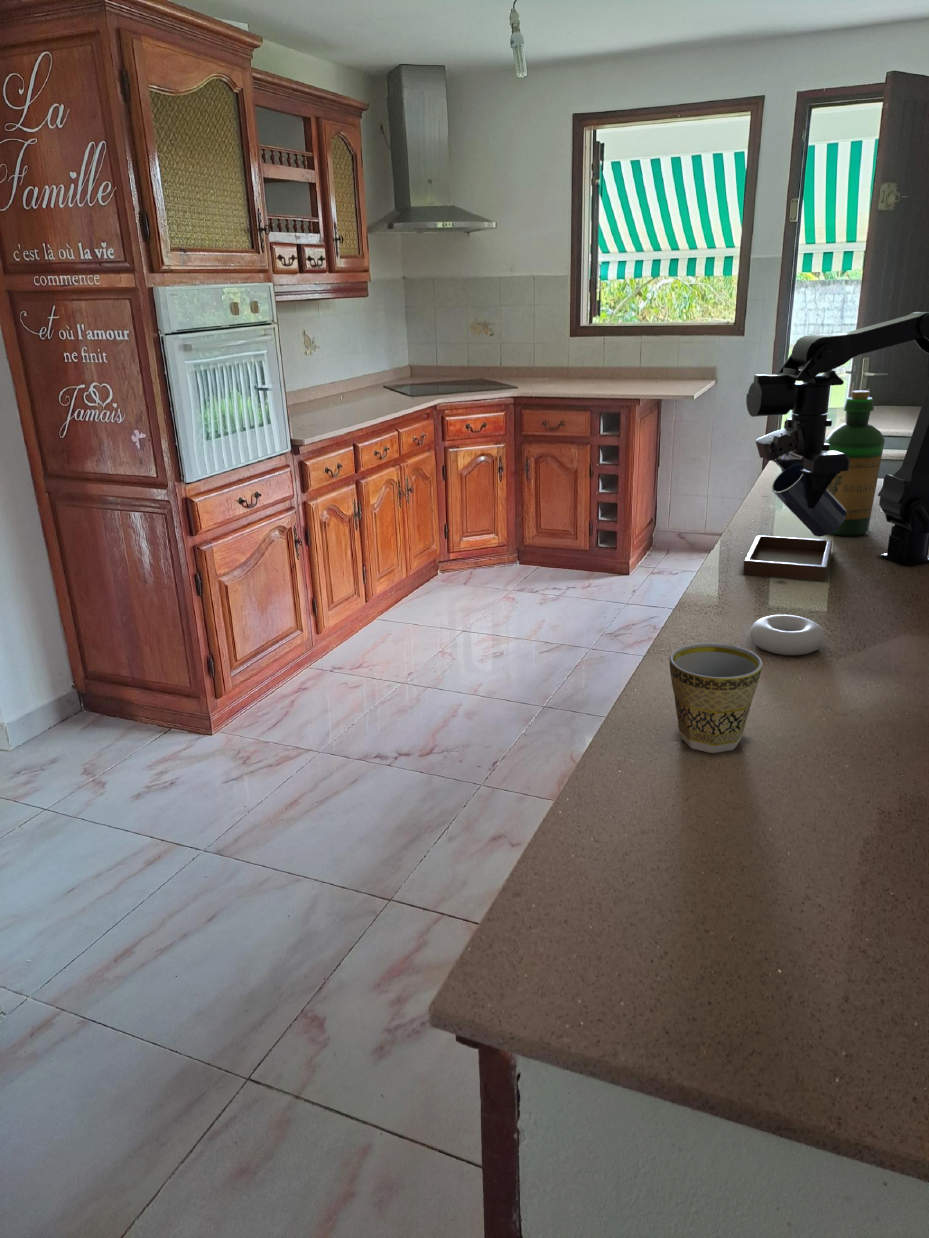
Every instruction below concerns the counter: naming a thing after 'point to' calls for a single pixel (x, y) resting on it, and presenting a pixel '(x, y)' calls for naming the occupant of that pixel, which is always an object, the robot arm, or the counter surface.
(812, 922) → the counter surface
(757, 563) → the tray
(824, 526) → the cup
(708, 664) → the ceramic cup
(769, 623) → the donut
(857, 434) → the bottle
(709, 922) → the counter surface
